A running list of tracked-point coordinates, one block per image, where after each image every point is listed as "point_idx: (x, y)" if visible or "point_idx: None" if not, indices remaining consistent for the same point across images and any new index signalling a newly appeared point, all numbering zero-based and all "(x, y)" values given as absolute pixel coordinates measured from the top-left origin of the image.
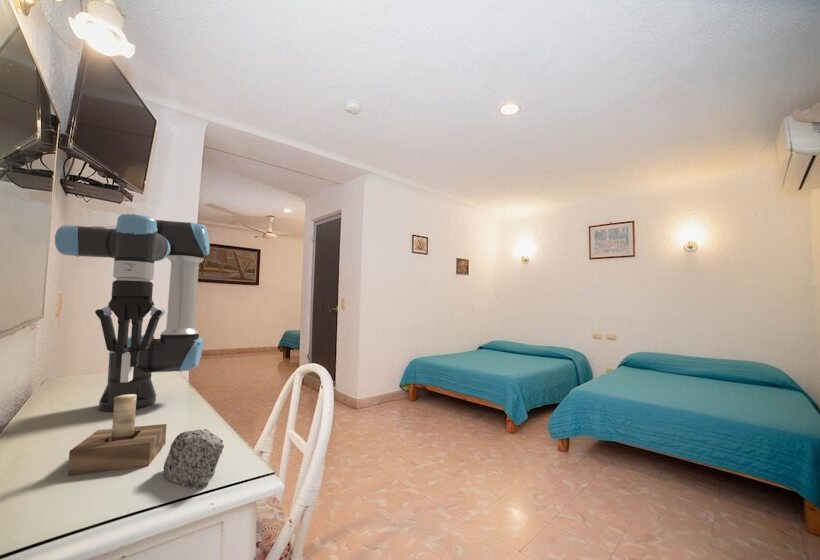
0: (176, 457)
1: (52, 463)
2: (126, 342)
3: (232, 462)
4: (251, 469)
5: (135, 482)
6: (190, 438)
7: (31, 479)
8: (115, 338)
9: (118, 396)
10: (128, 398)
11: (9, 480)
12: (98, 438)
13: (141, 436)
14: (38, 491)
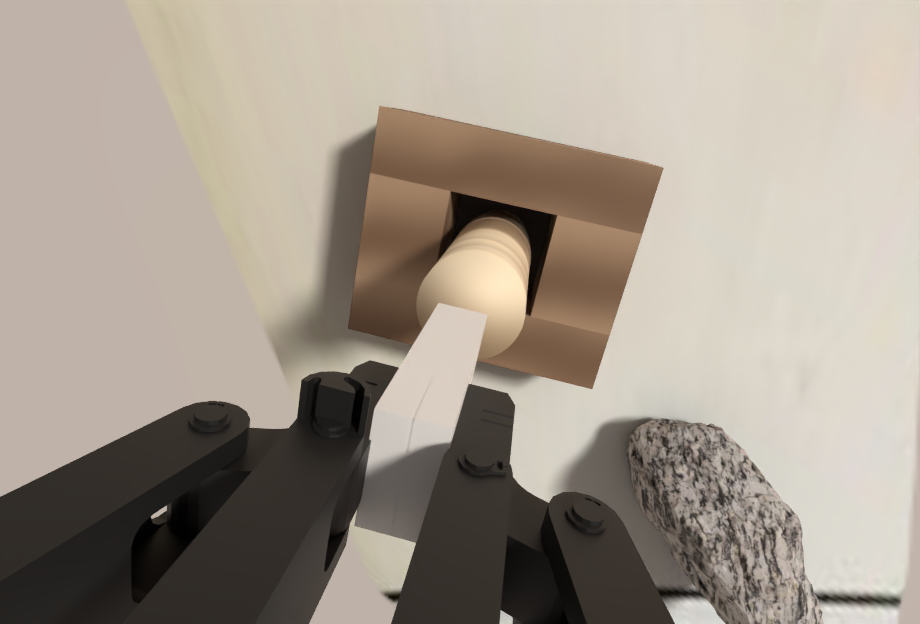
0: (666, 521)
1: (298, 163)
2: (321, 537)
3: (831, 473)
4: (865, 549)
5: (554, 448)
6: (723, 586)
7: (289, 274)
8: (128, 518)
9: (431, 285)
10: (489, 355)
11: (236, 248)
12: (407, 236)
13: (559, 301)
14: (336, 368)
